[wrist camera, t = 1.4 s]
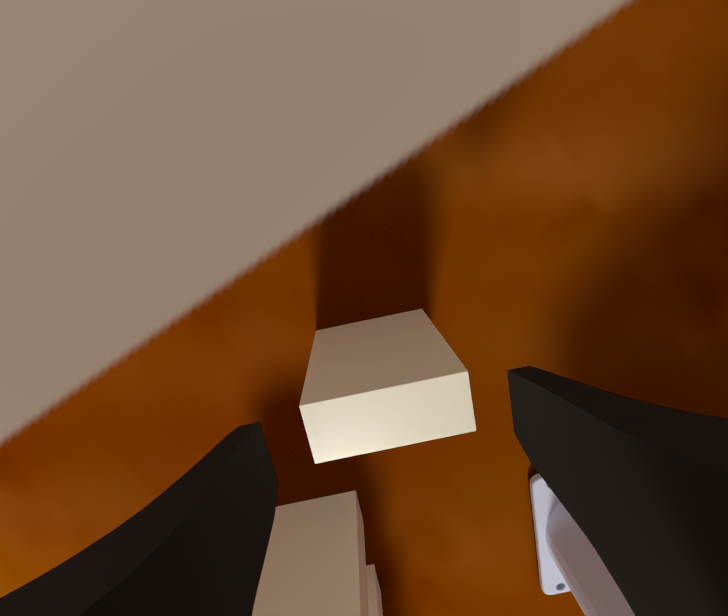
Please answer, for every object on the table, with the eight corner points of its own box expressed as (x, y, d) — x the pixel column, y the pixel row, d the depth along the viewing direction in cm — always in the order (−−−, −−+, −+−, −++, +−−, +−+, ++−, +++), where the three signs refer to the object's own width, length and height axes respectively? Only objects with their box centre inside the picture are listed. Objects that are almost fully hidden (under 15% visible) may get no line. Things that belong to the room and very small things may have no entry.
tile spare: (421, 308, 18) (467, 371, 11) (428, 348, 19) (476, 430, 12) (316, 330, 18) (299, 406, 11) (325, 369, 19) (315, 463, 12)
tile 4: (355, 490, 20) (361, 631, 14) (363, 520, 21) (372, 671, 14) (262, 509, 21) (222, 659, 14) (272, 539, 21) (238, 698, 14)
